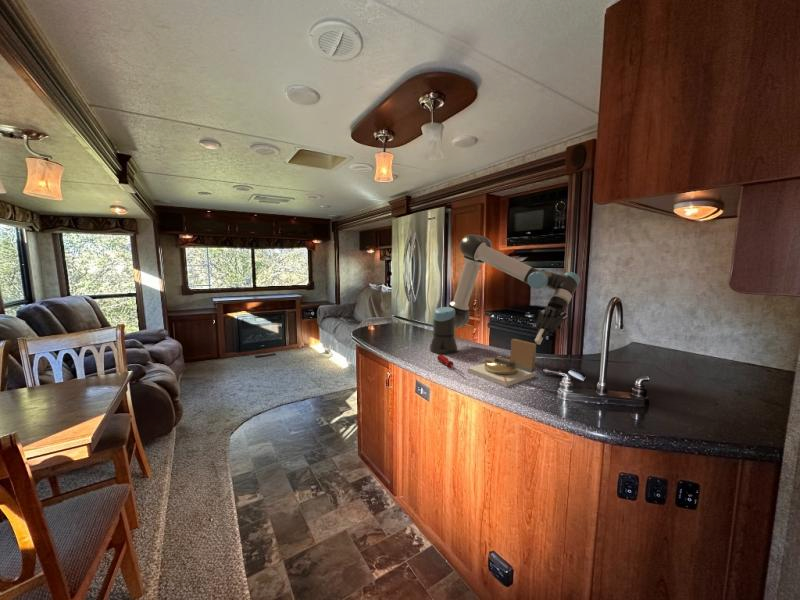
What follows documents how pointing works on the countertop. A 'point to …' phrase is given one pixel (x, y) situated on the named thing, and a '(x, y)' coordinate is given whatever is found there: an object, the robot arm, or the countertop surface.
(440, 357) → the screwdriver
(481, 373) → the plate
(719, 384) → the countertop surface
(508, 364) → the brass flange bracket
